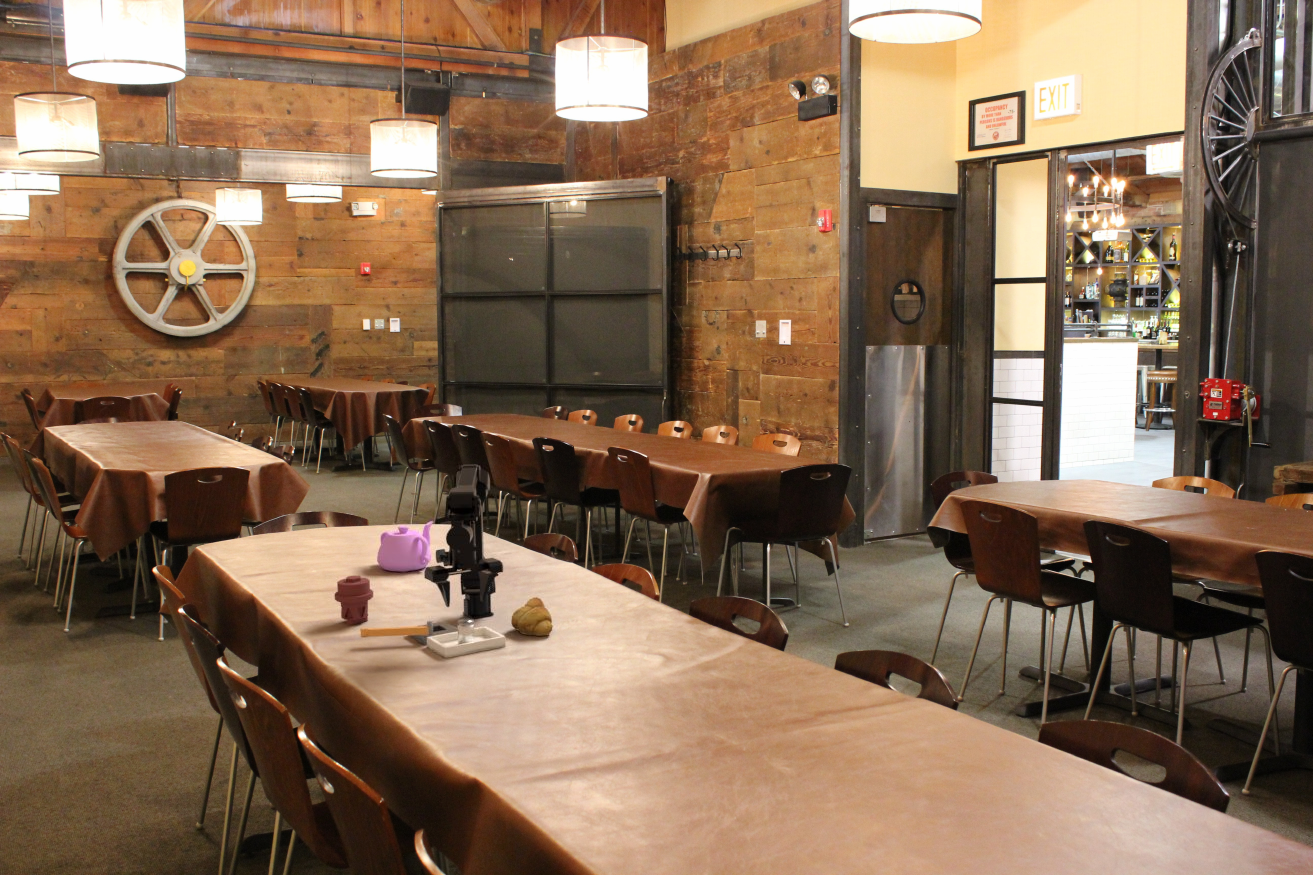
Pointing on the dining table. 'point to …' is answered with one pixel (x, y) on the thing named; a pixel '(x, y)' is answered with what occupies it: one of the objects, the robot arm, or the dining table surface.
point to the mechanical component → (354, 598)
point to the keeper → (398, 631)
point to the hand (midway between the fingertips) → (465, 603)
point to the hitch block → (435, 631)
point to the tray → (450, 648)
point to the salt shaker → (465, 631)
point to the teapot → (405, 549)
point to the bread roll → (532, 618)
